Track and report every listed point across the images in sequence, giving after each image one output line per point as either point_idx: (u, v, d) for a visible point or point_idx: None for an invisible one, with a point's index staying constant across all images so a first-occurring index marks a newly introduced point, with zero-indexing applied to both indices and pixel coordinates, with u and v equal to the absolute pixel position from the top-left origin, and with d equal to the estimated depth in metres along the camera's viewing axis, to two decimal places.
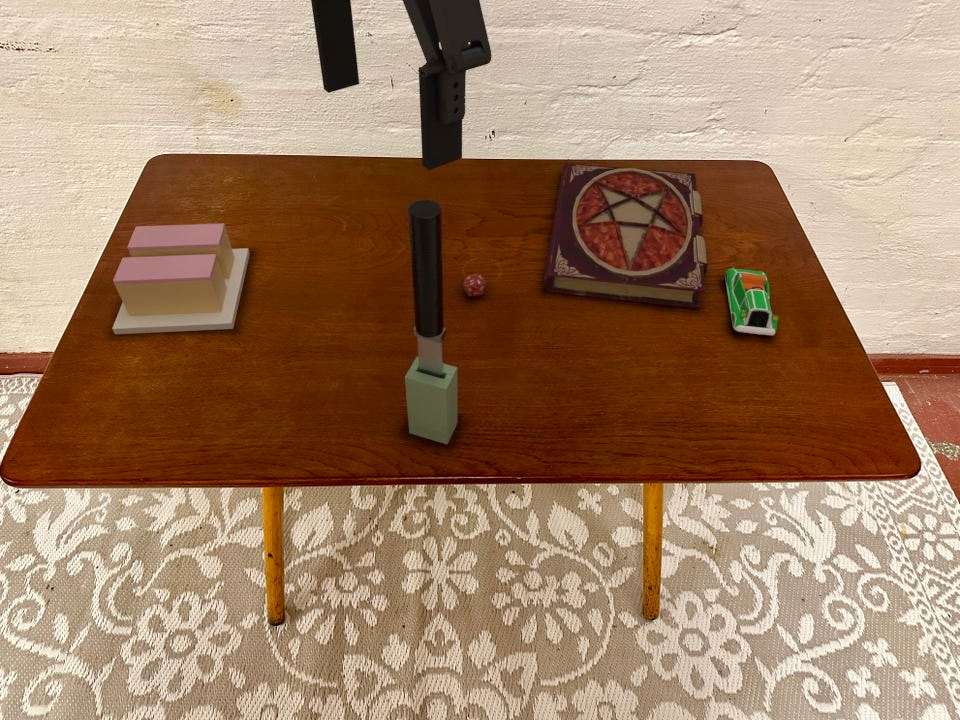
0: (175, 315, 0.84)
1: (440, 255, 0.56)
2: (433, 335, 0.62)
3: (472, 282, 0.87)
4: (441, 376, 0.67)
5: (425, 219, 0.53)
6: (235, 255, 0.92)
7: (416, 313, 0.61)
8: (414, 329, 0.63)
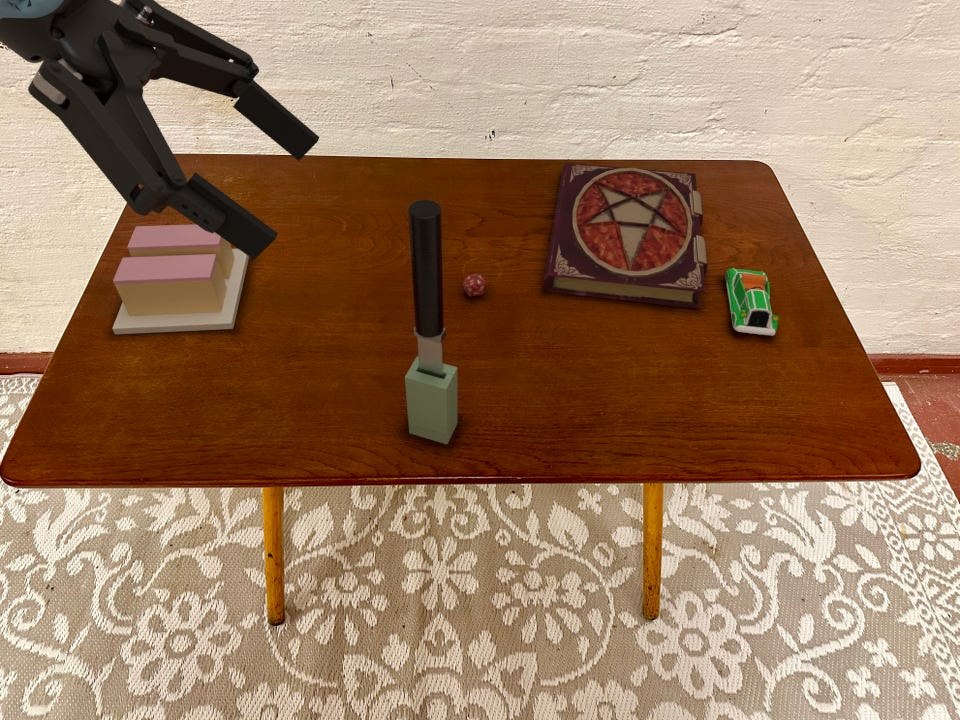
0: (175, 315, 0.84)
1: (440, 255, 0.56)
2: (433, 335, 0.62)
3: (472, 282, 0.87)
4: (441, 376, 0.67)
5: (425, 219, 0.53)
6: (235, 255, 0.92)
7: (416, 313, 0.61)
8: (414, 329, 0.63)
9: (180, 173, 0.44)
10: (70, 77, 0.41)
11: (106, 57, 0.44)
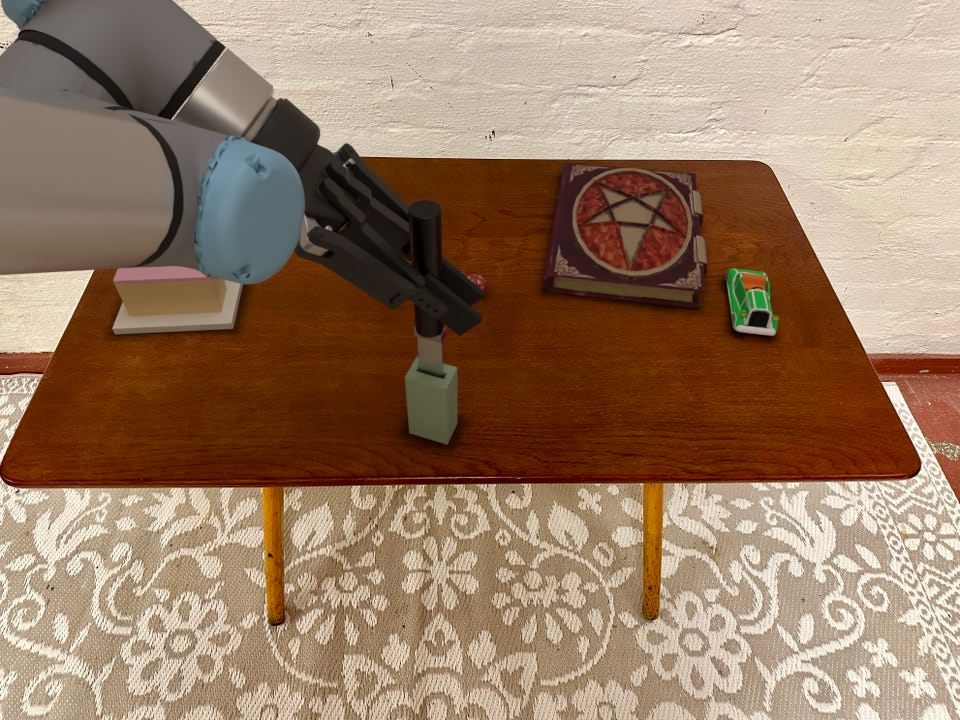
0: (175, 315, 0.84)
1: (440, 255, 0.56)
2: (433, 335, 0.62)
3: None
4: (441, 376, 0.67)
5: (425, 219, 0.53)
6: None
7: (416, 313, 0.61)
8: (414, 329, 0.63)
9: (418, 274, 0.56)
10: (330, 234, 0.49)
11: (334, 203, 0.51)
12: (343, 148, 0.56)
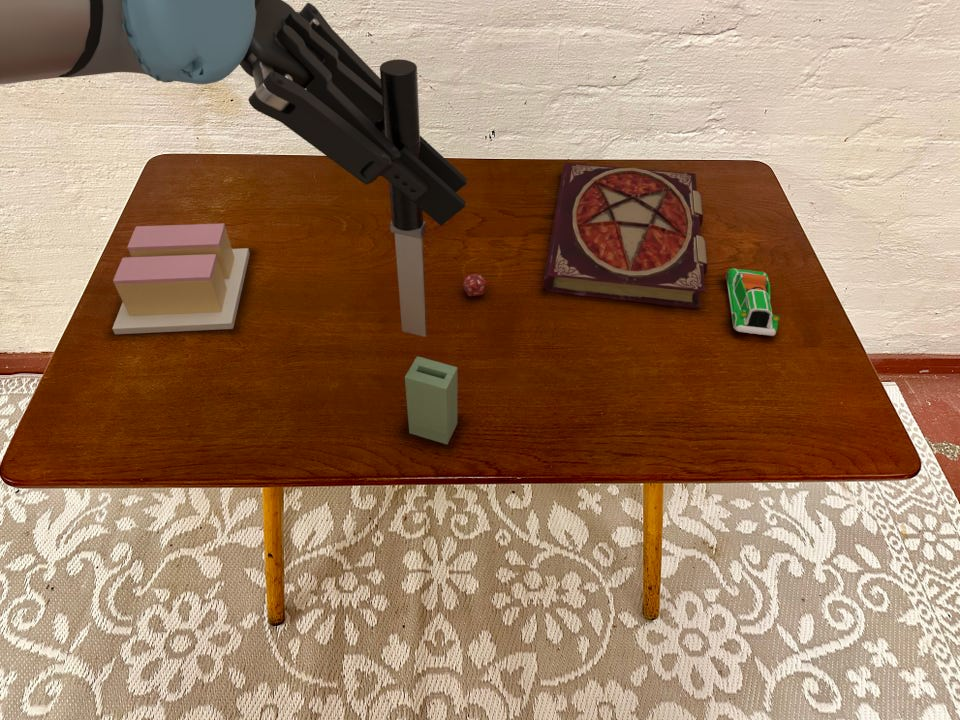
0: (175, 315, 0.84)
1: (417, 126, 0.50)
2: (412, 228, 0.56)
3: (472, 282, 0.87)
4: (422, 281, 0.61)
5: (399, 76, 0.47)
6: (235, 255, 0.92)
7: (392, 201, 0.55)
8: (391, 223, 0.57)
9: (393, 145, 0.50)
10: (289, 83, 0.43)
11: (295, 55, 0.45)
12: (306, 7, 0.50)
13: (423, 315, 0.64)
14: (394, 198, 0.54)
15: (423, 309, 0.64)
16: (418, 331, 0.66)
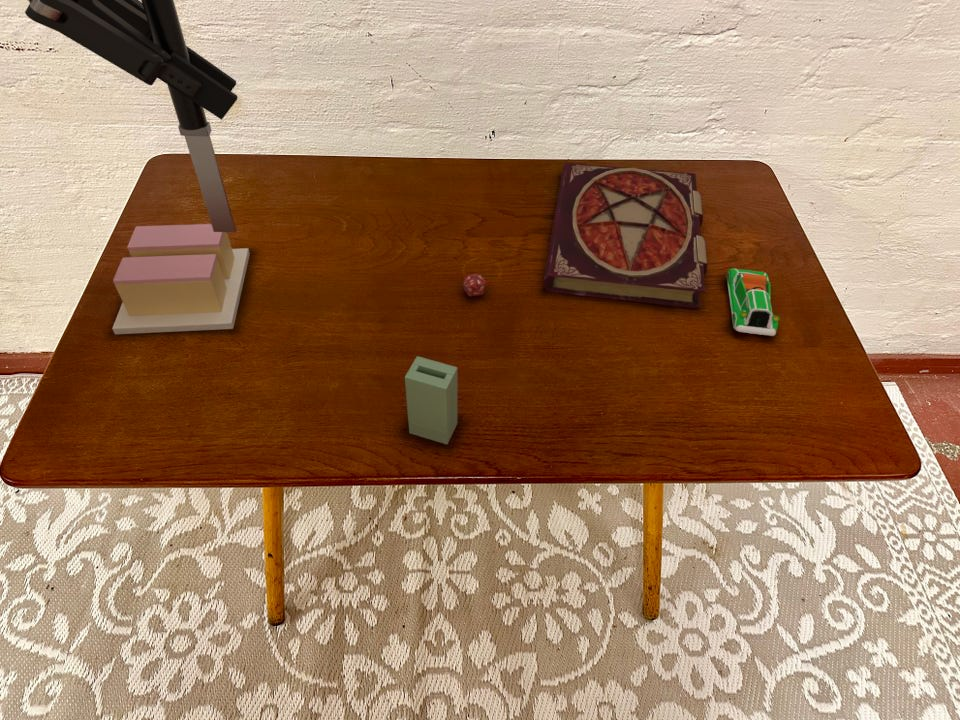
0: (175, 315, 0.84)
1: (180, 32, 0.62)
2: (198, 126, 0.67)
3: (472, 282, 0.87)
4: (219, 178, 0.72)
5: None
6: (235, 255, 0.92)
7: (175, 104, 0.66)
8: (179, 127, 0.68)
9: (162, 49, 0.61)
10: None
11: None
12: None
13: (228, 211, 0.75)
14: (176, 101, 0.65)
15: (227, 205, 0.75)
16: (228, 228, 0.77)
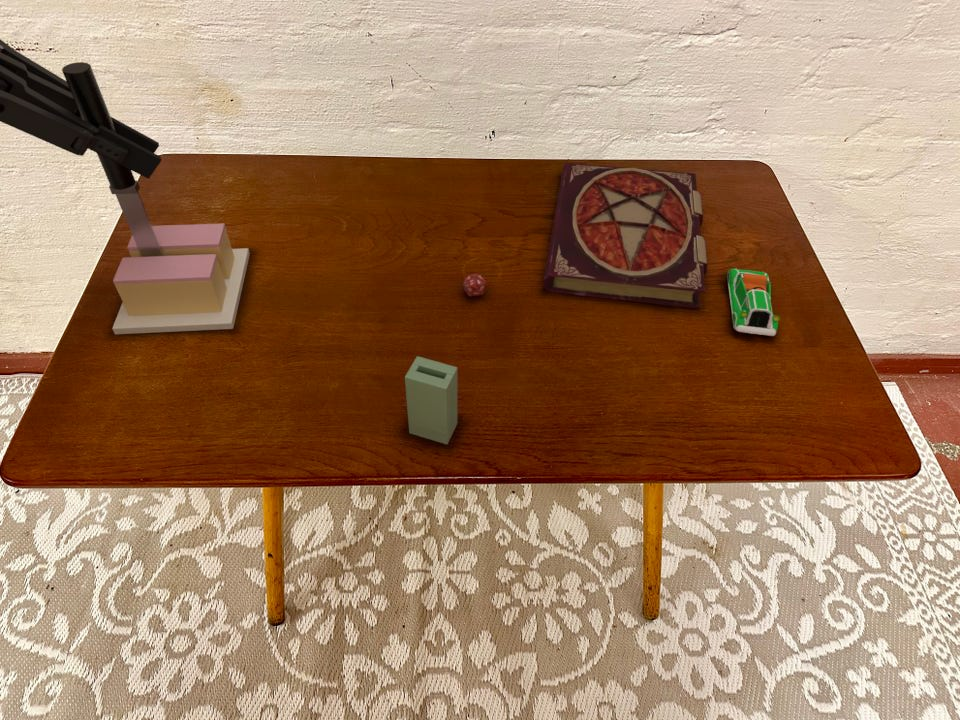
0: (175, 315, 0.84)
1: (104, 108, 0.70)
2: (127, 186, 0.76)
3: (472, 282, 0.87)
4: (150, 228, 0.81)
5: (79, 74, 0.66)
6: (235, 255, 0.92)
7: (105, 168, 0.74)
8: (110, 187, 0.76)
9: (90, 124, 0.69)
10: None
11: None
12: None
13: None
14: (105, 165, 0.74)
15: (159, 250, 0.83)
16: None
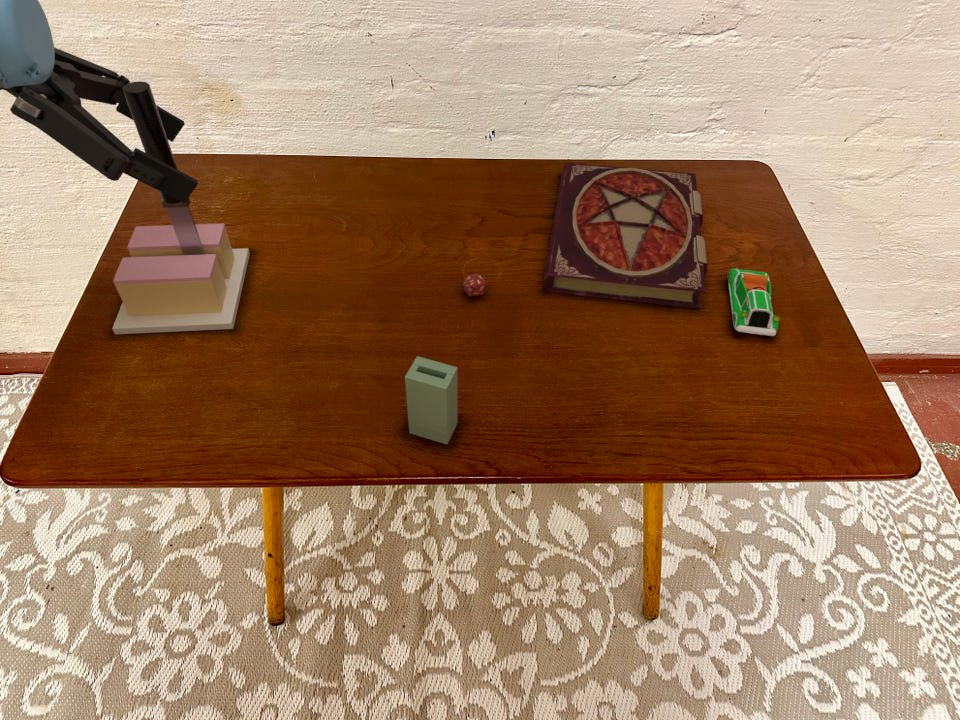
0: (175, 315, 0.84)
1: (161, 125, 0.72)
2: None
3: (472, 282, 0.87)
4: (198, 240, 0.83)
5: (139, 93, 0.68)
6: (235, 255, 0.92)
7: None
8: (162, 201, 0.78)
9: (128, 149, 0.66)
10: (41, 97, 0.61)
11: (49, 83, 0.64)
12: None
13: None
14: None
15: None
16: None
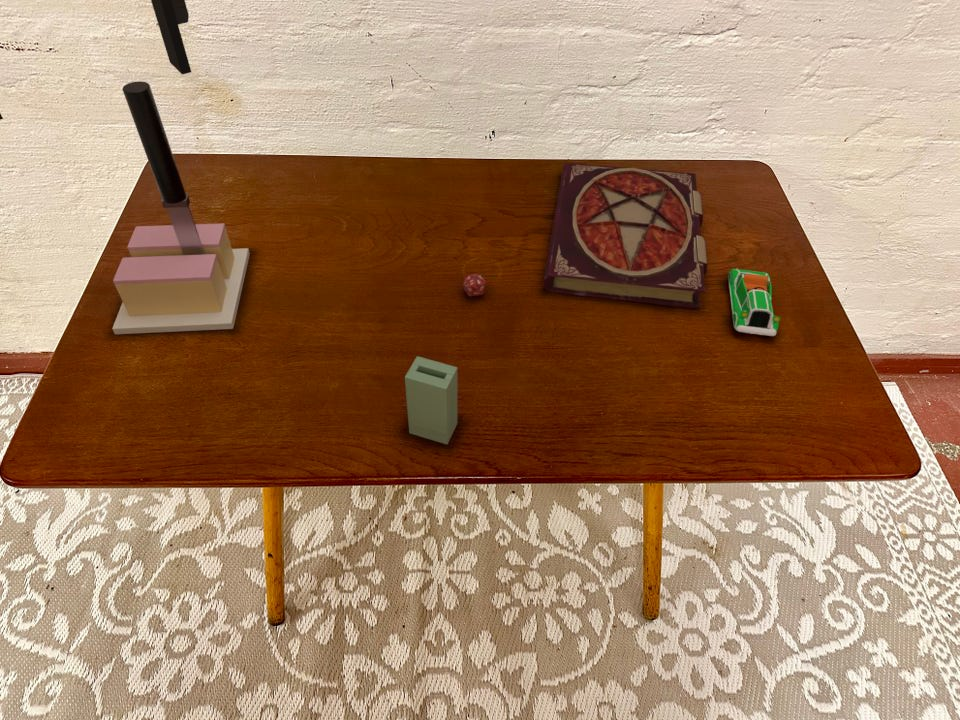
0: (175, 315, 0.84)
1: (161, 125, 0.72)
2: (179, 200, 0.78)
3: (472, 282, 0.87)
4: (198, 240, 0.83)
5: (139, 93, 0.68)
6: (235, 255, 0.92)
7: (158, 183, 0.76)
8: (162, 201, 0.78)
9: None
10: None
11: None
12: None
13: None
14: (159, 181, 0.75)
15: None
16: None
